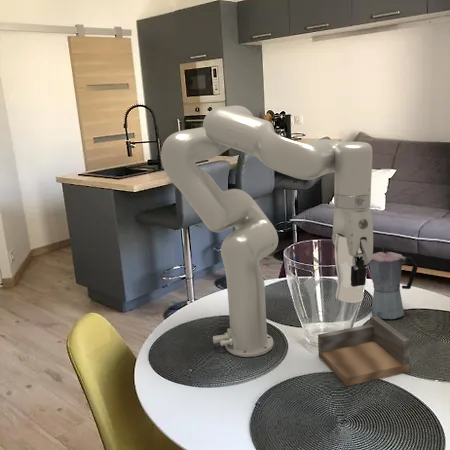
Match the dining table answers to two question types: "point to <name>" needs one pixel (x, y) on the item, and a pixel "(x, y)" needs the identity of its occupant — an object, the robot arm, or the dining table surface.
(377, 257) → the moka pot
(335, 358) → the wooden corner tray
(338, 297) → the beer glass
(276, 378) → the dining table surface
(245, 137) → the robot arm
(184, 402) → the dining table surface
